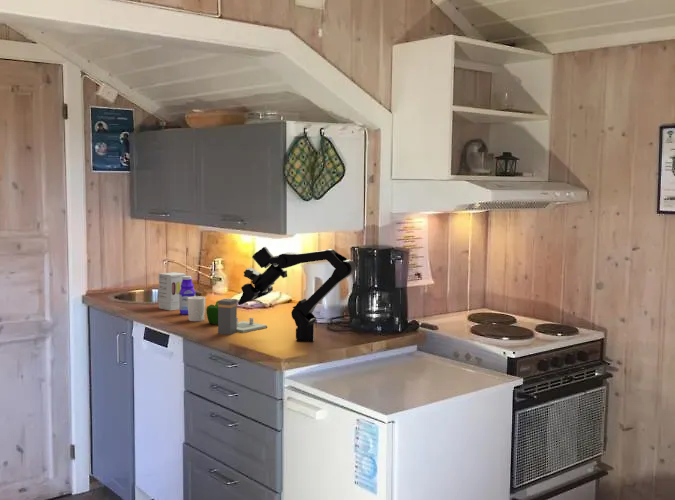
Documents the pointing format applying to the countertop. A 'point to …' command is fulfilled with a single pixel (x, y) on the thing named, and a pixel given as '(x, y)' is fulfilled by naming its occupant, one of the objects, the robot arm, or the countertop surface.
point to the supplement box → (169, 290)
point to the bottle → (185, 294)
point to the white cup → (196, 308)
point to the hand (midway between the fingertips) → (243, 302)
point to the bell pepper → (212, 313)
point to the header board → (248, 326)
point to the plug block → (227, 316)
